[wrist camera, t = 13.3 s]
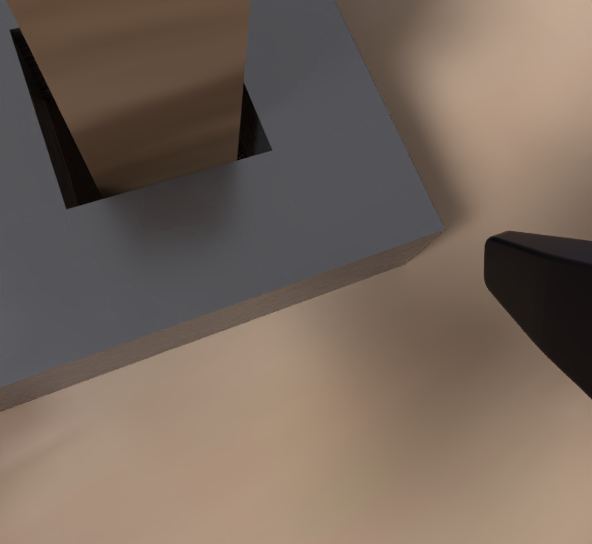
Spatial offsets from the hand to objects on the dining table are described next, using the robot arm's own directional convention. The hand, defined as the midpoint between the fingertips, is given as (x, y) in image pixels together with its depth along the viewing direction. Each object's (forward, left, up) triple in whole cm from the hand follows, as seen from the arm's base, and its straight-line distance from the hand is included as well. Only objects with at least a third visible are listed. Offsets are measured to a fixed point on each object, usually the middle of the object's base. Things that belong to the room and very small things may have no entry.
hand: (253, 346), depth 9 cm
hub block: (+6, -7, -9) cm, 13 cm away
